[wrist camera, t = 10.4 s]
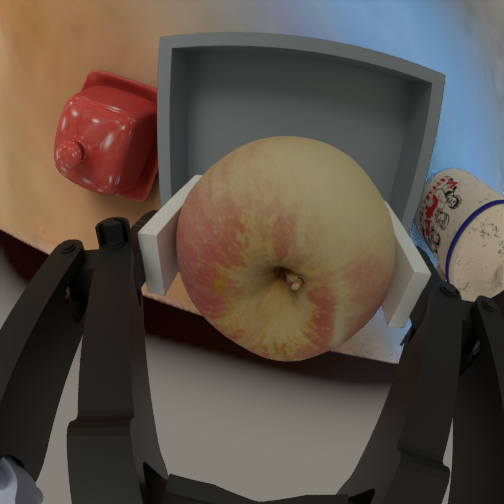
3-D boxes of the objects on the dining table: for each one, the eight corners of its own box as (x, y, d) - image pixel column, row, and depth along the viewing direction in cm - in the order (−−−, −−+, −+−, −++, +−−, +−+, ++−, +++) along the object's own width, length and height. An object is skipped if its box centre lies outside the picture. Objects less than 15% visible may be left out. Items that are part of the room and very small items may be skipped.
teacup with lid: (425, 153, 21) (498, 206, 11) (492, 178, 20) (562, 235, 10) (391, 262, 27) (422, 349, 18) (454, 273, 27) (494, 348, 17)
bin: (185, 242, 30) (167, 270, 26) (185, 44, 19) (159, 37, 15) (372, 268, 28) (381, 300, 24) (418, 75, 17) (445, 75, 13)
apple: (299, 293, 18) (294, 403, 12) (183, 214, 16) (115, 307, 10) (399, 199, 14) (464, 294, 7) (271, 89, 12) (241, 88, 5)
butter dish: (190, 99, 22) (144, 107, 15) (151, 202, 28) (108, 245, 21) (96, 66, 20) (35, 72, 13) (71, 162, 26) (20, 192, 19)
